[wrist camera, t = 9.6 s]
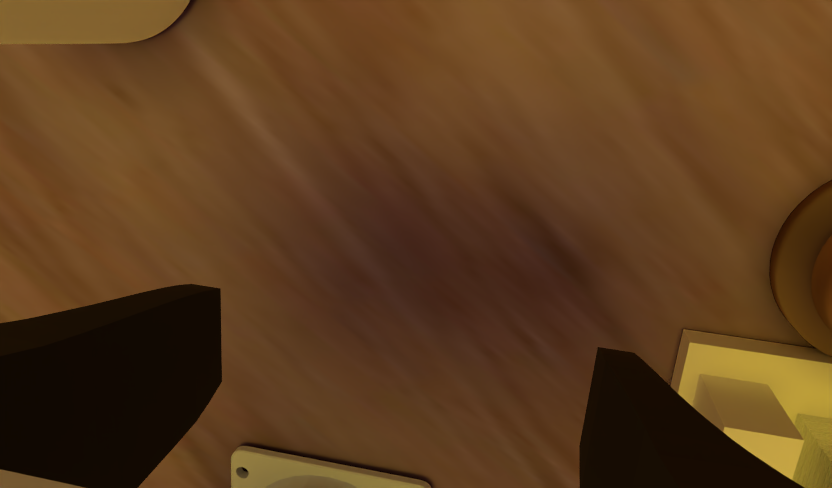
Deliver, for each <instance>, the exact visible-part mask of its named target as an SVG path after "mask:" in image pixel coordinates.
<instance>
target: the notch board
mask: <svg viewBox="0 0 832 488" xmlns="http://www.w3.org/2000/svg"><path fill="white" fill-rule="evenodd" d="M670 386H671V387H672V388H673V389H674V390H675V391H676V392H677V393H678V394H679V395H680V396H681V397H682V398H683V399H685V400H686V401H687V402H688V403H689V404H690V405H691V406H692V407H693V408H695V409H696V410H697V411H698V412H699V413H700V414H702V415H703V416H704V417H705V418H706V419H707V420H709V421H710V422H711V423H712V424H714V425H715V426H716V427H717V428H719V429H720V430H721V431H722V432H724V433H725V434H726V435H727V436H729V437H730V438H731V439H732V440H734V441H735V442H736V443H738V444H739V445H741V446H742V447H743V448H745V449H746V450H747V451H749V452H750V453H752V454H753V455H755V456H756V457H758V458H759V459H761V460H762V461H764V462H765V463H767V464H768V465H770V466H771V467H773V468H774V469H776V470H777V471H779V472H780V473H782V474H783V475H785V476H786V477H788V478H790V479H791V480H792V478H793V475H794V472H795V469H796V465H797V462H798V459H799V456H800V453H801V449H802V446H803V443H804V439H803V438H802V436H801V435H800V433H799V432H798V430H797V429H796V427H795V425H794V424H795V421H796V417H797V414H798V413H800V414H806V415H812V416H819V417H825V418H831V419H832V357H831V356H829V355H827V354H825V353H823V352H821V351H820V350H818V349H815V348H808V347H802V346H795V345H788V344H781V343H775V342H768V341H761V340H754V339H748V338H741V337H734V336H727V335H721V334H714V333H707V332H700V331H694V330H687V329H683V333H682V337H681V342H680V346H679V350H678V355H677V359H676V363H675V368H674V372H673V377H672V381H671V385H670Z"/></svg>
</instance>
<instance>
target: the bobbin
mask: <svg viewBox="0 0 832 488" xmlns="http://www.w3.org/2000/svg"><path fill="white" fill-rule="evenodd" d="M770 281H771V288H772V291H773V295H774V298H775V300H776V302H777V305H778V307H779V309H780V310H781V312H782V313H783V315H784V316H785V318H786V319H787V320H788V321H789V322H790V324H791V325H792V326H793V327H794V328H795V329H796V330H797V332H798V333H799V334H800V335H801V336H802V337H803V338H804V339H805V340H806V341H807V342H809V343H810V344H811V345H812V346H814V347H815V348H817V349H818V350H820V351H821V352H823V353H825V354H827V355H829V356H831V357H832V180H831V181H829V182H828V183H826V184H824V185H822V186H821V187H820V188H818V189H817V190H815V191H814V192H813V193H811V194H810V195H809V196H808V197H807V198H805V199H804V200H803V201H802V202H801V203H800V204H799V205H798V206H797V207H796V208H795V210H794V211H793V212H792V213H791V214H790V216H789V217H788V219H787V220H786V221H785V223H784V224H783V226H782V228H781V230H780V232H779V234H778V236H777V238H776V241H775V244H774V247H773V250H772V255H771V260H770Z"/></svg>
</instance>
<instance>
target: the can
mask: <svg viewBox="0 0 832 488" xmlns="http://www.w3.org/2000/svg"><path fill="white" fill-rule="evenodd" d="M189 2H190V0H0V44H112V43H130V42H136V41H141V40H145V39H148V38H150V37H153V36H155V35H157V34H158V33H160V32H162V31H163V30H165V29H166V28H168V27H169V26H170V25H171V24H172V23H173V22H174V21H175V20H176V19H177V18H178V17H179V16H180V15H181V14H182V12H183V11H184V10H185V8H186V7H187V5H188V3H189Z"/></svg>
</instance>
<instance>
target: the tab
mask: <svg viewBox="0 0 832 488" xmlns="http://www.w3.org/2000/svg"><path fill="white" fill-rule="evenodd" d="M794 425H795V427H796V429H797V430H798V432H799V433H800V435H801V436H802V438H803V439H804V443H803V446H802V449H801V453H800V456H799V459H798V462H797V465H796V469H795V472H794V475H793V478H792V480H793V481H795V482H796V483H798V484H800V485H801V486H803V487H804V488H832V419H831V418H825V417H819V416H812V415H806V414H800V413H798V414H797V417H796V421H795V424H794Z"/></svg>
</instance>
